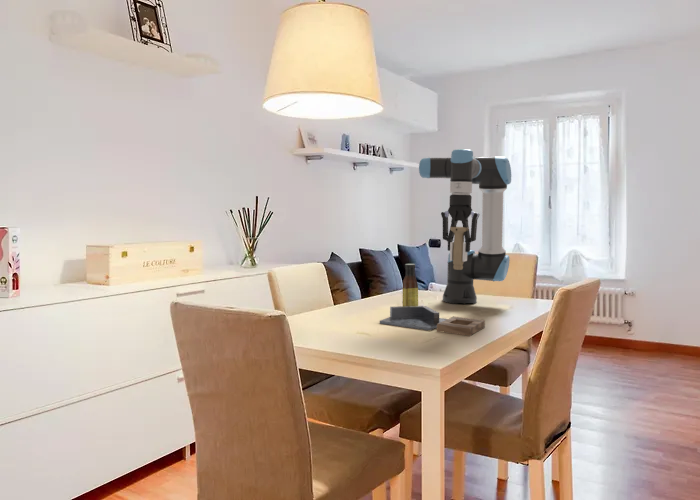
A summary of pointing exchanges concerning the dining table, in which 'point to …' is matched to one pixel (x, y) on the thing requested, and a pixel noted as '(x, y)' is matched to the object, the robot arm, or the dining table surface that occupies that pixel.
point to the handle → (458, 246)
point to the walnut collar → (461, 325)
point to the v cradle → (413, 317)
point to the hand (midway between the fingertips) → (458, 260)
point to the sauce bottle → (410, 286)
